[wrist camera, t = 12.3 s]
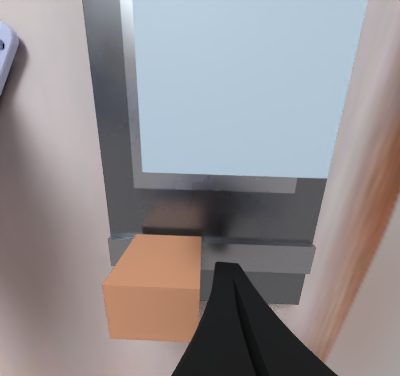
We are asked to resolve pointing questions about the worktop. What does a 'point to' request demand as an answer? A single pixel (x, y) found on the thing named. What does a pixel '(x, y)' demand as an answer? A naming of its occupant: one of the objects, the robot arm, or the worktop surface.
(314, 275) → the worktop surface
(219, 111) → the housing block
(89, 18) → the base
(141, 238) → the lever
